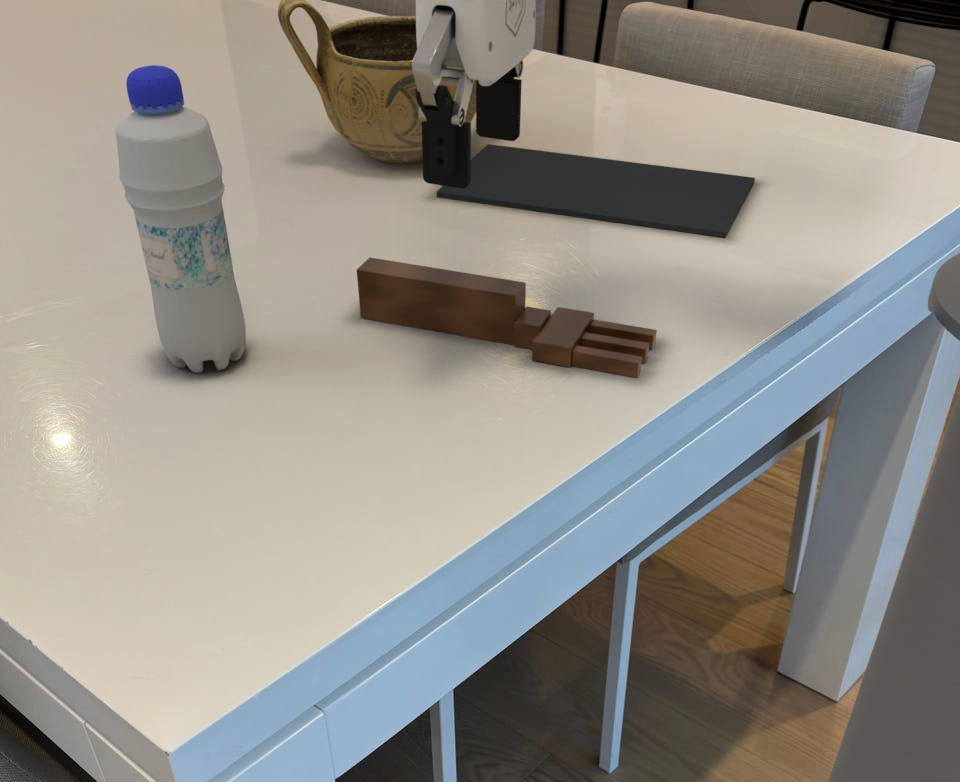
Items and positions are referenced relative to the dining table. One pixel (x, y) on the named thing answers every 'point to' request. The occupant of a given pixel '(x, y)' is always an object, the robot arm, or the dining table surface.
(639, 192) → the place mat
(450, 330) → the fork
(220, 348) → the bottle
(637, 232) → the dining table surface
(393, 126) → the ceramic bowl
